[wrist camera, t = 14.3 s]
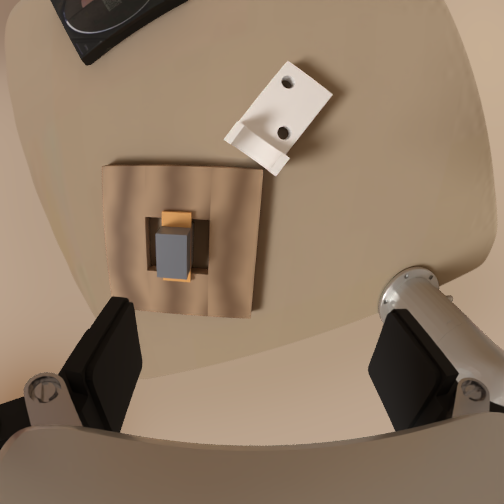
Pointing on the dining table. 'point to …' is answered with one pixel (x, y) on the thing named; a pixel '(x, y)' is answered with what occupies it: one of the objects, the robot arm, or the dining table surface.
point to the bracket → (278, 117)
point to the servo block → (175, 246)
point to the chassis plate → (202, 207)
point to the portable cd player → (106, 22)
